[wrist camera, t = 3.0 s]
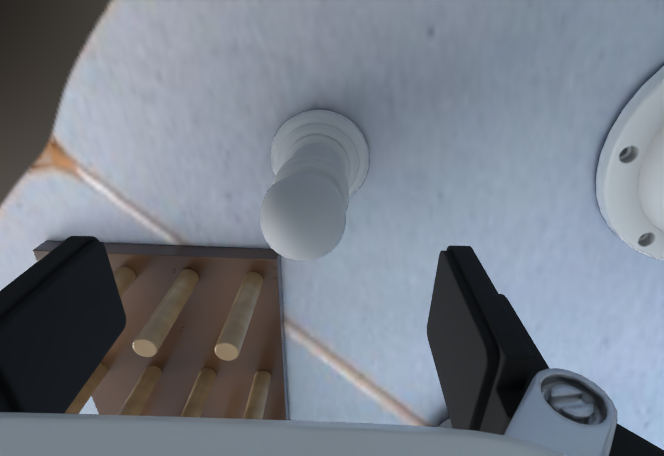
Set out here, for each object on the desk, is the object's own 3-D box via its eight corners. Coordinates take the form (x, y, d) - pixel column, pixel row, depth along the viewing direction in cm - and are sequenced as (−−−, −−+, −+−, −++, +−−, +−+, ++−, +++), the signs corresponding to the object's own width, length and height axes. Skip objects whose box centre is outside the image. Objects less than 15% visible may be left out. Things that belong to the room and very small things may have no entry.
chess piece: (275, 201, 23) (234, 298, 15) (267, 107, 20) (213, 162, 12) (367, 202, 22) (376, 301, 14) (371, 107, 20) (384, 164, 12)
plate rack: (280, 249, 24) (255, 330, 18) (290, 446, 33) (276, 545, 27) (45, 240, 25) (-61, 316, 18) (121, 437, 34) (68, 533, 28)
